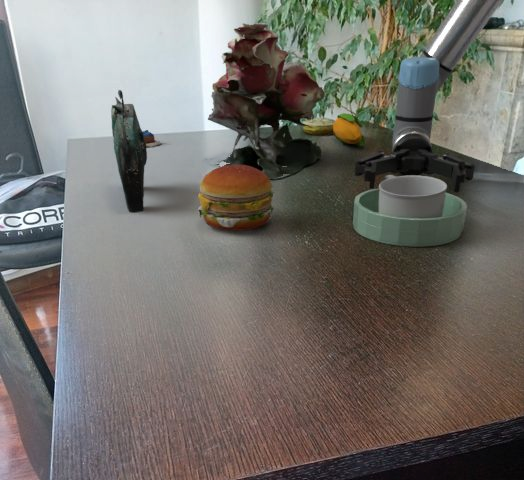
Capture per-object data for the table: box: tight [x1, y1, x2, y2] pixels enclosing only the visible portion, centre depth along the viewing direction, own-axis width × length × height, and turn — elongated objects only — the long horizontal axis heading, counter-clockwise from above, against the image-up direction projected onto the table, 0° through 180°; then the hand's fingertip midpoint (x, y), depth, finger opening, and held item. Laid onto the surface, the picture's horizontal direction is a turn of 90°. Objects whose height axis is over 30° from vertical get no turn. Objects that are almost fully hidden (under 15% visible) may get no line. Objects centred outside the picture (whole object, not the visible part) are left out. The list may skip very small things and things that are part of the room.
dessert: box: [142, 129, 162, 148], centre depth 159 cm, size 8×7×6 cm
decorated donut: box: [301, 117, 336, 136], centre depth 171 cm, size 10×11×4 cm
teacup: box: [378, 174, 448, 218], centre depth 96 cm, size 14×11×8 cm
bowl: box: [352, 187, 468, 248], centre depth 98 cm, size 19×19×4 cm
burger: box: [197, 165, 275, 231], centre depth 100 cm, size 14×14×10 cm
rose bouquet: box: [207, 22, 326, 180], centre depth 133 cm, size 26×29×30 cm
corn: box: [332, 112, 366, 147], centre depth 155 cm, size 7×8×20 cm
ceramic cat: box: [110, 89, 148, 213], centre depth 111 cm, size 20×6×20 cm, turn 12°
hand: (414, 182), depth 93 cm, fingers open, 13 cm apart
